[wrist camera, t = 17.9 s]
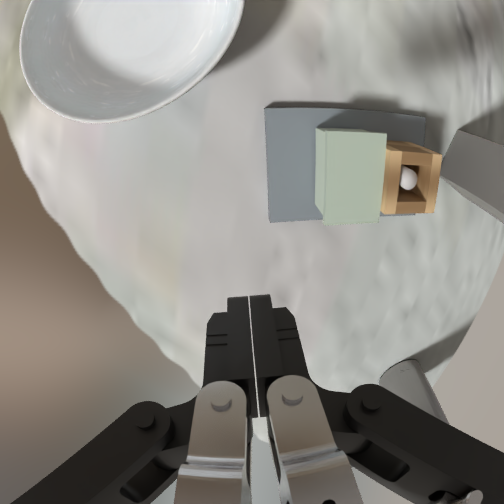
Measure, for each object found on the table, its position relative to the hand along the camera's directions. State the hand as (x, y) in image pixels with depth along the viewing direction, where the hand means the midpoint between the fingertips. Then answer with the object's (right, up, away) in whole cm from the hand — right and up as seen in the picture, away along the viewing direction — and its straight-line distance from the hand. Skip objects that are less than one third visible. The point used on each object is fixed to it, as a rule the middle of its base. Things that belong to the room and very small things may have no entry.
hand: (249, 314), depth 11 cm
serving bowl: (-11, +25, +11) cm, 29 cm away
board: (+11, +12, +19) cm, 25 cm away
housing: (+9, +11, +18) cm, 23 cm away
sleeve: (+15, +12, +19) cm, 26 cm away
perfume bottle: (+27, +14, +20) cm, 36 cm away
